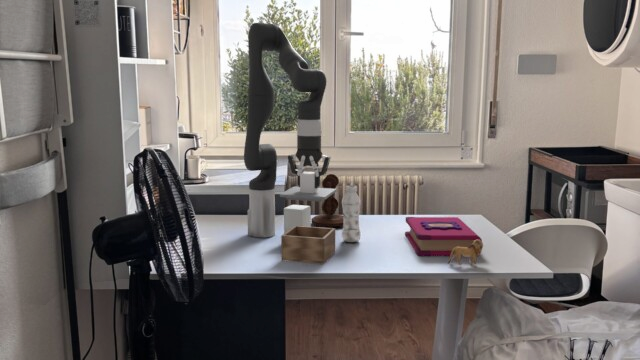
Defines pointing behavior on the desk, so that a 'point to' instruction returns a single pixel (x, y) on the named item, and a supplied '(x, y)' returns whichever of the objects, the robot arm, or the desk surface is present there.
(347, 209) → the plastic bottle
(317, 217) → the brown wooden sculpture
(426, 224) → the book
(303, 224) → the supplement box
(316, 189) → the lid
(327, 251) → the box
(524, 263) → the desk surface
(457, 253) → the lion figurine
